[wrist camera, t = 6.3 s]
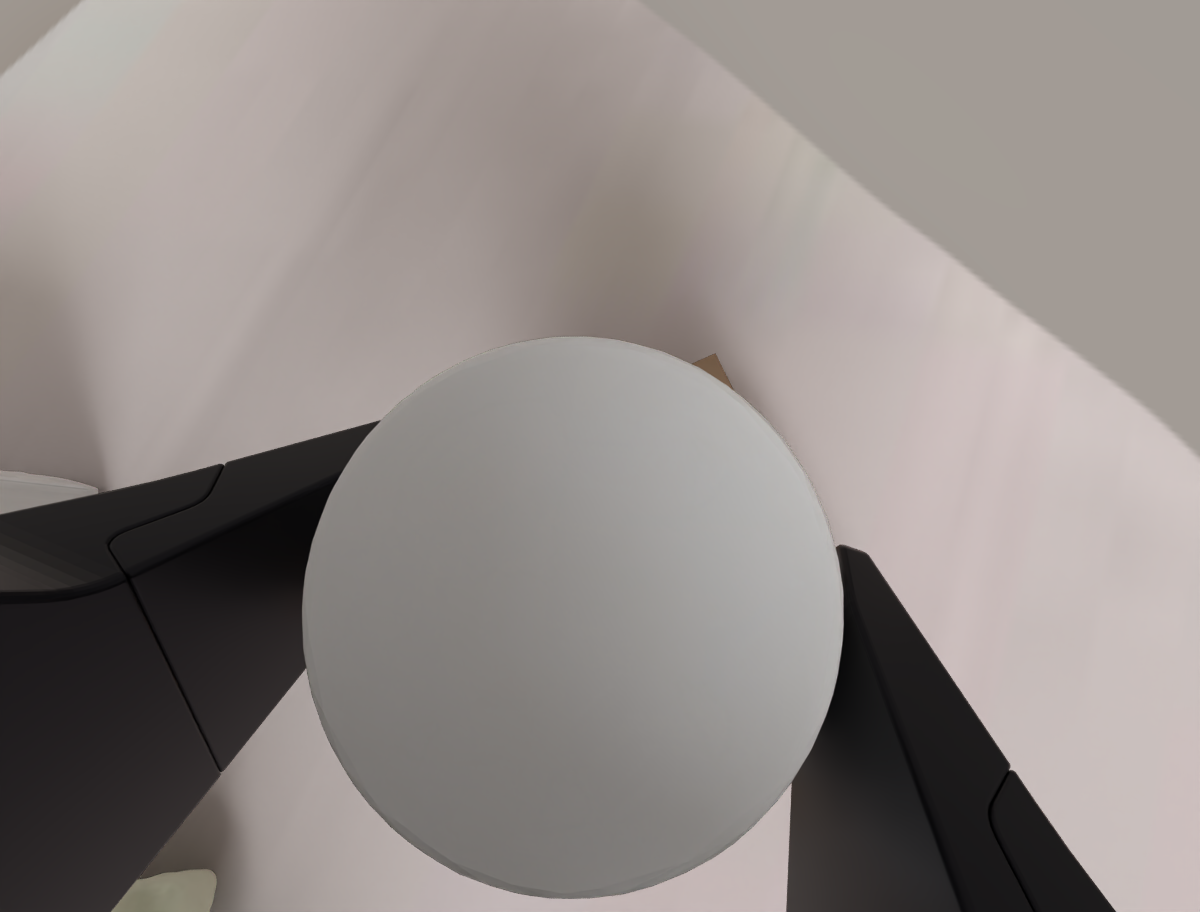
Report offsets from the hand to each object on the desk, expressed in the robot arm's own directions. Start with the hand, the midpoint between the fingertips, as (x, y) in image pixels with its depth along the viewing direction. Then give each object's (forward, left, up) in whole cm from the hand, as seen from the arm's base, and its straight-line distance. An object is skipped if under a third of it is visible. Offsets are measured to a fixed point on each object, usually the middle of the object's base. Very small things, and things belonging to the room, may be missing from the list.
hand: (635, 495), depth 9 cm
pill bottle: (-1, -1, -7) cm, 7 cm away
